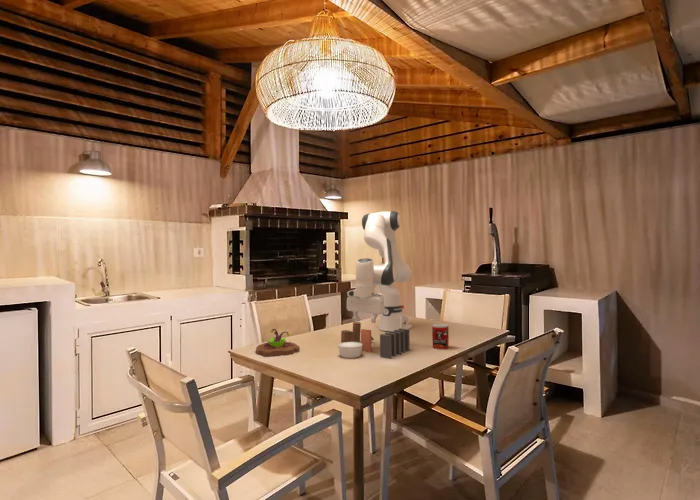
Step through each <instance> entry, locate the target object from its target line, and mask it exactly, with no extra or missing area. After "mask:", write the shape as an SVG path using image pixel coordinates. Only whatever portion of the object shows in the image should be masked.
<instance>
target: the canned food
mask: <svg viewBox="0 0 700 500" xmlns="http://www.w3.org/2000/svg"><path fill="white" fill-rule="evenodd" d="M431 326H432V327H431V331H432V334H431V335H432V348H433V349H436V350H447V349H449V347H450V346H449V341H450V340H449V338H450V337H449V335H450V334H449V333H450V332H449V324H446V323H433V324H432V325H431Z"/></svg>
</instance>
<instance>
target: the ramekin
mask: <svg viewBox="0 0 700 500" xmlns="http://www.w3.org/2000/svg"><path fill="white" fill-rule="evenodd" d="M362 346H363V344H362V343H361V342H344V343H341V342H340V343H339V344H337V348H338V350H339V351H338V352H339V356H340V357H341V358H346V359H355V358H360V356H361V355H362V352H363V351H362Z"/></svg>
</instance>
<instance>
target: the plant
mask: <svg viewBox="0 0 700 500" xmlns="http://www.w3.org/2000/svg"><path fill="white" fill-rule="evenodd" d="M277 330H278V329H276V328H272V329H270V333H273V334H274V335H275V337H274V336H273V337H272V338H271V337H270V338H269V339H266V341H267V342H264V343H261V344H258V345H257V346H256V348H255V352H256V354H257V355H259V356H263V357H265V358H270V357H280V356H281V355H282V356H288V355H294V354H297V353H299V352H300V349H301V348H300V346H299V345H298V344H296V343H295V342H291V341H287V337H282V336H283V334H285V333H286V336H290V333H289V332H288V331H283V332H281V333H280V334H278V331H277Z"/></svg>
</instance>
